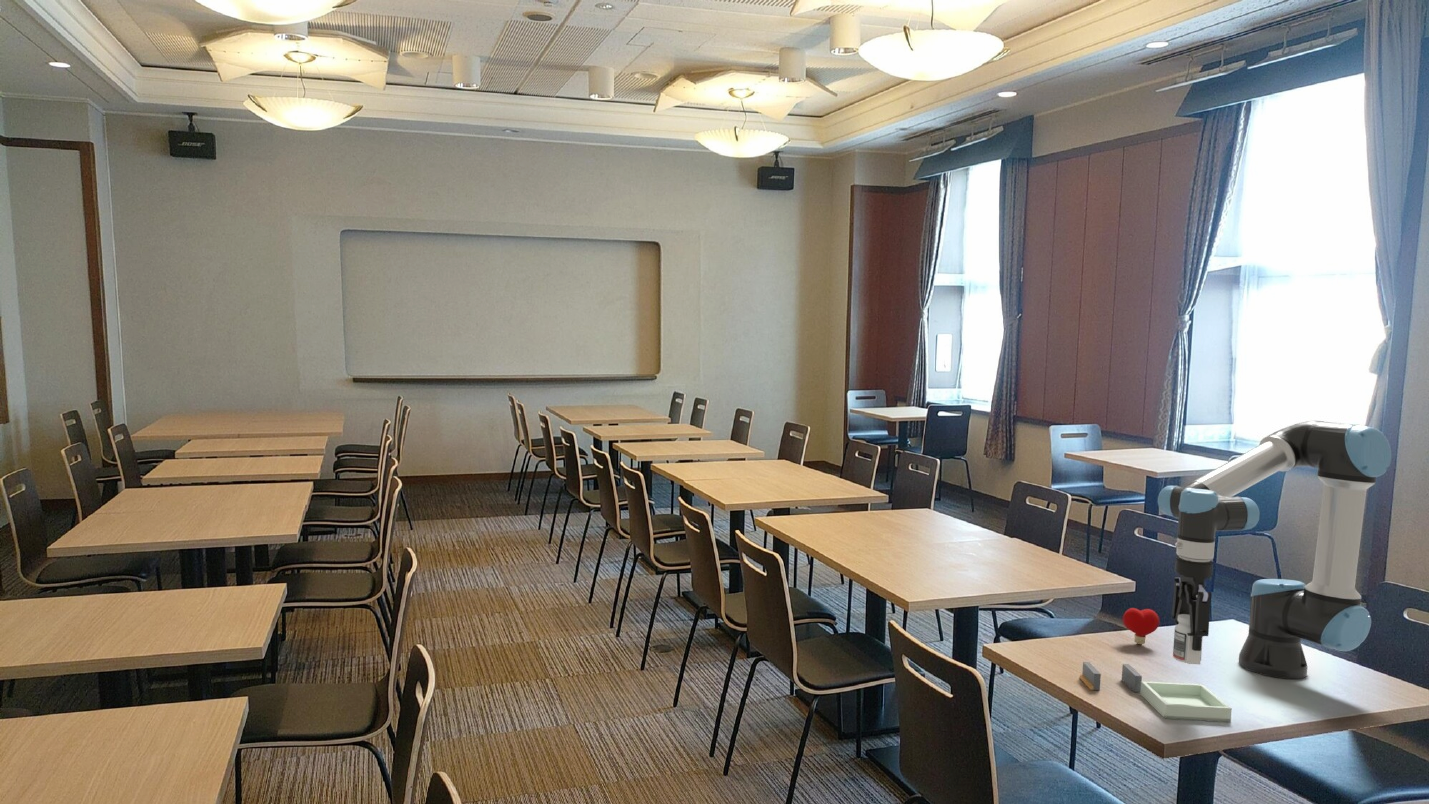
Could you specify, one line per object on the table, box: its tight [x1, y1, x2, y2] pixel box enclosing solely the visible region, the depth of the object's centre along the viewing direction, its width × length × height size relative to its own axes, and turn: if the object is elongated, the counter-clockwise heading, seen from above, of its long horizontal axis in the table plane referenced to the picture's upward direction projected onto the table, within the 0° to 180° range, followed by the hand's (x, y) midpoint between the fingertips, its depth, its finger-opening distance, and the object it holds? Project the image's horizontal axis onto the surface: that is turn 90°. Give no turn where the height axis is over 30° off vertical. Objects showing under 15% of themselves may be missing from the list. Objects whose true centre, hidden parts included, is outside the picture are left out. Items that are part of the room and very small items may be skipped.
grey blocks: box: [1079, 661, 1143, 693], centre depth 223 cm, size 12×8×4 cm, turn 86°
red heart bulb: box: [1122, 607, 1160, 646], centre depth 254 cm, size 9×7×10 cm
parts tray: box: [1140, 681, 1232, 723], centre depth 211 cm, size 14×14×3 cm
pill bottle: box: [1172, 614, 1204, 664], centre depth 209 cm, size 6×6×10 cm
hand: (1186, 658), depth 210 cm, fingers closed on pill bottle, 6 cm apart
